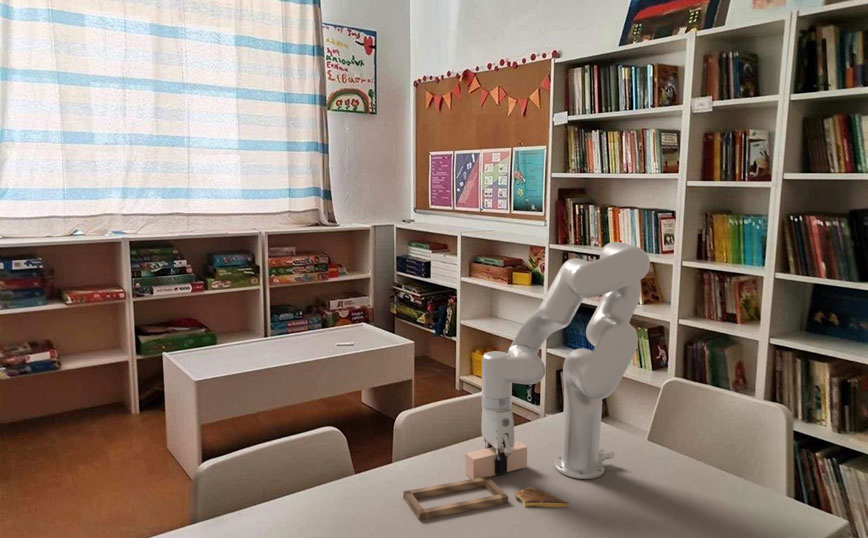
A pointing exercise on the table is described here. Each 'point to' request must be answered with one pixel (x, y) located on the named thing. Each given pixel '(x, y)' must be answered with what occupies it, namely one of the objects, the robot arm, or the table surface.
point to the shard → (538, 498)
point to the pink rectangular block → (484, 461)
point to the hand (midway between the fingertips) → (496, 468)
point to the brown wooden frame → (457, 507)
